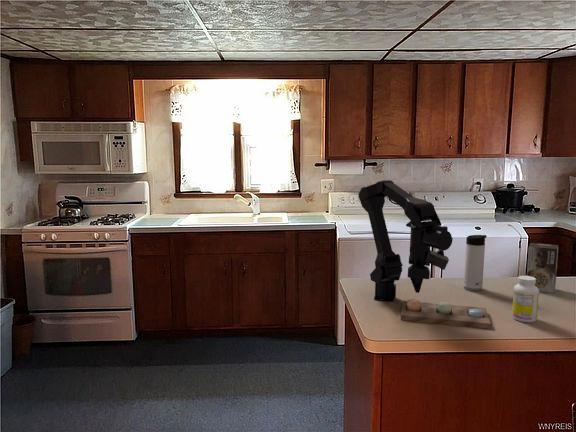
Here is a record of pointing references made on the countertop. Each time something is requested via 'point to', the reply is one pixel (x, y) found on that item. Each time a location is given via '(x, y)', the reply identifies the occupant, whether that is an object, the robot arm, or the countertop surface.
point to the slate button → (475, 313)
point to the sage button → (444, 308)
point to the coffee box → (543, 265)
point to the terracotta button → (413, 305)
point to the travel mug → (474, 262)
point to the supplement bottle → (525, 299)
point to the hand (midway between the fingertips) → (417, 292)
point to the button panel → (446, 315)
